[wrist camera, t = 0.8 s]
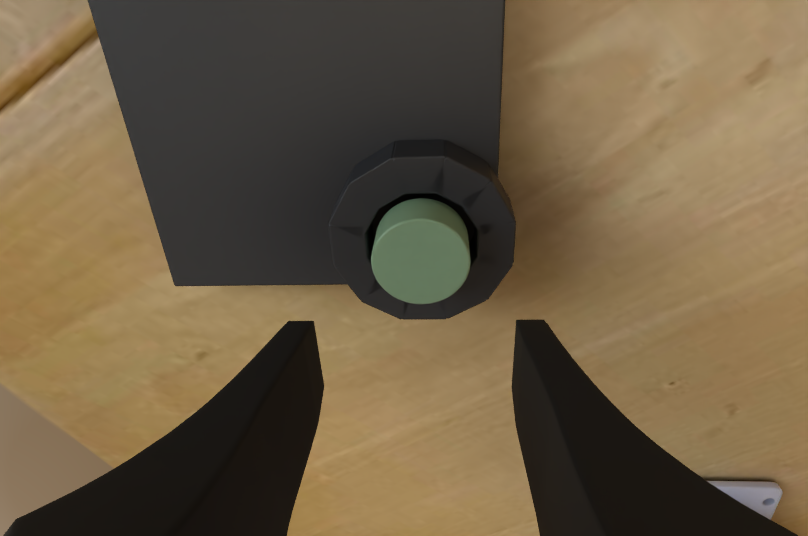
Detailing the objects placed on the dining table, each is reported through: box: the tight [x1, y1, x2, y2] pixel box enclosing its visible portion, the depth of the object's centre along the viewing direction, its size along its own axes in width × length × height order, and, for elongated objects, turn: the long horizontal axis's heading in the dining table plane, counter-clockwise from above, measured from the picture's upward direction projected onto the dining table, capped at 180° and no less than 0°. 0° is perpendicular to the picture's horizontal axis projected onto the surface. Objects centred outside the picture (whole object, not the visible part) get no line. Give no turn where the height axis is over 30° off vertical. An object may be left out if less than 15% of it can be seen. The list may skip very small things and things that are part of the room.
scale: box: [88, 0, 516, 319], centre depth 17 cm, size 14×12×3 cm
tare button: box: [371, 198, 470, 304], centre depth 18 cm, size 3×3×2 cm
